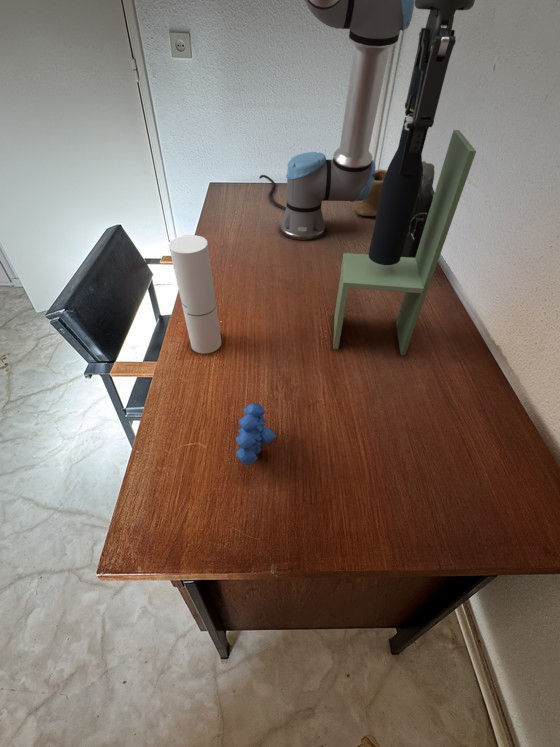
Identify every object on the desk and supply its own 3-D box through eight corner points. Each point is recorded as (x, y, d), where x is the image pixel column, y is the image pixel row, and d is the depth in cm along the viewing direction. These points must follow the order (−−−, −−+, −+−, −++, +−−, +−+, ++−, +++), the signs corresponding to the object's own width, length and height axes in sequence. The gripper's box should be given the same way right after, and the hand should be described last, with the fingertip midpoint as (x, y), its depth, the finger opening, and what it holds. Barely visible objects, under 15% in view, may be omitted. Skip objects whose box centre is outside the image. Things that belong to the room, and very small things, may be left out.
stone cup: (356, 221, 135) (364, 176, 124) (353, 207, 143) (359, 165, 132) (398, 221, 134) (409, 177, 124) (392, 208, 143) (401, 165, 132)
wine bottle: (400, 267, 73) (454, 71, 51) (367, 263, 74) (406, 69, 52) (400, 251, 77) (449, 65, 55) (368, 248, 78) (405, 63, 56)
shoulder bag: (417, 284, 106) (451, 180, 86) (385, 281, 107) (411, 177, 87) (409, 246, 122) (436, 150, 101) (381, 244, 122) (402, 149, 102)
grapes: (270, 485, 63) (269, 446, 54) (231, 479, 64) (225, 440, 55) (281, 429, 71) (282, 388, 62) (246, 424, 72) (243, 383, 63)
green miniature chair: (334, 317, 95) (361, 125, 65) (399, 323, 94) (459, 129, 63) (333, 348, 87) (364, 145, 56) (405, 355, 86) (476, 151, 55)
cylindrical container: (209, 329, 91) (192, 231, 73) (227, 343, 88) (215, 244, 70) (185, 343, 88) (161, 243, 70) (203, 357, 84) (183, 257, 66)
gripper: (412, -32, 53) (379, 150, 70) (434, -39, 40) (387, 186, 57) (466, -32, 52) (420, 152, 69) (505, -38, 40) (437, 189, 57)
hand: (405, 167), depth 63 cm, fingers closed on wine bottle, 5 cm apart
